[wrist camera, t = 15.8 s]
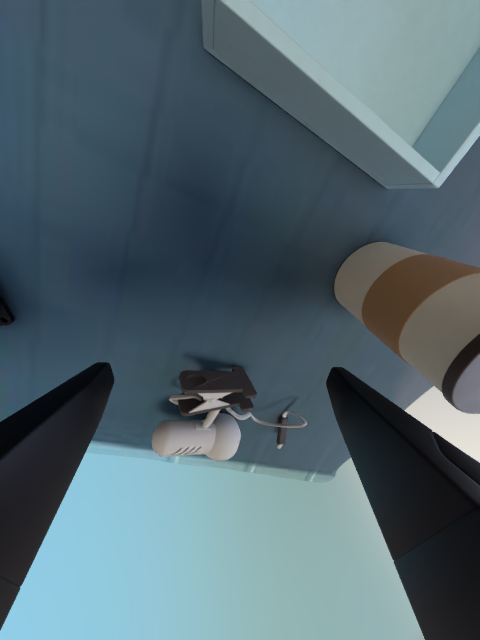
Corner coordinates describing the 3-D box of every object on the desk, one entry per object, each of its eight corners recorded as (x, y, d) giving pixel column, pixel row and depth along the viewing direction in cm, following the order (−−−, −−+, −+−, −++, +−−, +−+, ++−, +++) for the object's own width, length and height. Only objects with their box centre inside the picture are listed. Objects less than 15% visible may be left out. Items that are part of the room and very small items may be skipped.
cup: (317, 296, 21) (422, 398, 11) (368, 225, 18) (580, 270, 8) (368, 320, 23) (495, 424, 13) (420, 260, 20) (638, 332, 10)
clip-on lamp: (302, 375, 31) (181, 352, 21) (333, 412, 26) (194, 404, 16) (260, 430, 34) (142, 431, 25) (280, 472, 29) (142, 494, 20)
